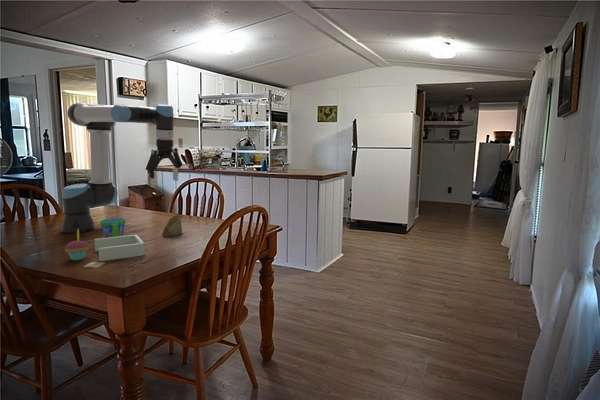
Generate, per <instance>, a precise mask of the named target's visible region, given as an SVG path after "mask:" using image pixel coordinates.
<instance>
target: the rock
mask: <svg viewBox="0 0 600 400" xmlns="http://www.w3.org/2000/svg"><path fill="white" fill-rule="evenodd" d="M182 234H183V228H182V219H181V216H180V214H179V215H178V214H177V215H173V216H172V217H171V218H169V219H168V222H167V223H166V224H165V227H164V228H163V231H162V234H161V236H163V237H171V236H176V235H182Z"/></svg>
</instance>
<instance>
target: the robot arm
mask: <svg viewBox="0 0 600 400" xmlns="http://www.w3.org/2000/svg"><path fill="white" fill-rule="evenodd" d="M174 116H175V115H174V107H173V106H172V105H170V104H156V106H155V107H152V106H151V107H150V106H144V105H143V106H141V105H140V106H139V105H129V104H119V103H118V104H114V105H113V104H112V105H108V104H101V103H89V102H75V103H73V104H71V105H70V106H69V107H68V109H67V117H68V120H69V121H70V122H71V123H73V124H75V125H76V126H80V127H86V129H85V130H86V131H87V132H88V133H89V143H90V145H89V147H90V176H91V178H90V179H89V180H88V183H75V184H71V185H67V186H65V187H63V188H62V192H61V194H62V195H61V199H62V205H63V206H62V207H63V216H64V217H63V221H62V223H61V226H60V227H61V228H60V230H61V232H62V233H64V234H65V233H66V234H77V230H79V234H80V233H85V232H90V231H93V230H95V229H96V228H95V227H96V225H95V222H94V220H93V218H92V215H91V209H92V208H100V207H106V206H110V205H113V204H114V203H115V202H116V201H117V198H118V195H119V194H118V189H117V187H116V185H115V184H113V181H112V180H111V179H110V164H109V163H110V159H109V155H110V154H109V153H110V152H109V134H110V133H111V132H112V128H113V127H114V126H115V125H116V123H133V124H134V123H135V124H151V125H156V126H155V129H156V130H155V134H156V136H155V137H156V140H155V144H156V147H157V149H151V152H150V153H151V154H150V156H149V158H148V161H147V164H146V167H145V170H146V171H149V178H150V185H151V186H157V171H156V170H157V168H158V166H159V164H160V163H161V161H162V160H165V159H168V160H169V161H170V163H171V164H172V165H173V166H172V180H173V181H175V182H178V181H179V173H180V169H181V167H182V166H183V162H182V159H181V157H180V155H179V150H178V148H177V147H174V140H173V138H174Z"/></svg>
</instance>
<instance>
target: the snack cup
mask: <svg viewBox="0 0 600 400" xmlns="http://www.w3.org/2000/svg"><path fill="white" fill-rule="evenodd" d="M126 222H127V221H126V219H125V218H123V217H122V218H121V217H114V218H105V219H101V220H100V222H99V224H100V226H101V230H102V233H103V238H109V237H118V236H125V225H126Z"/></svg>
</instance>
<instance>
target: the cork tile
mask: <svg viewBox="0 0 600 400" xmlns="http://www.w3.org/2000/svg"><path fill="white" fill-rule="evenodd" d="M105 264H106V262H105V261H99V262H98V261H92V262H90V263H87V264H86V265H84V267H83V268H84V269H99V268H101V267H102V266H104V265H105Z"/></svg>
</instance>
